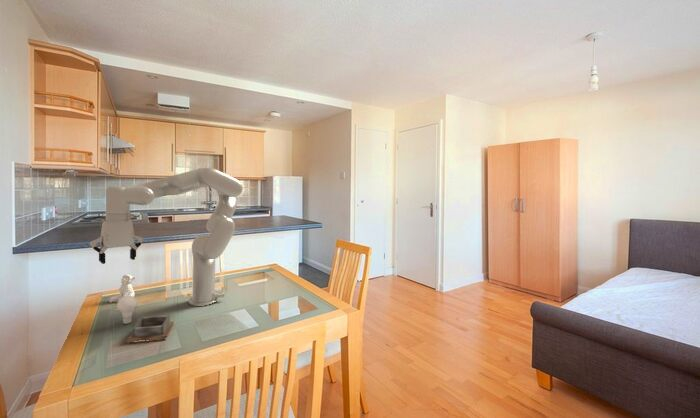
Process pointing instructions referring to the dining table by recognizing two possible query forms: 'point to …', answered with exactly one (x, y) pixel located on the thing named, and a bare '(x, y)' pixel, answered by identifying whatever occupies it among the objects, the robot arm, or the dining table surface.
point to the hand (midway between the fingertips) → (118, 261)
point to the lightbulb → (127, 307)
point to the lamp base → (151, 329)
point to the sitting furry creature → (124, 288)
